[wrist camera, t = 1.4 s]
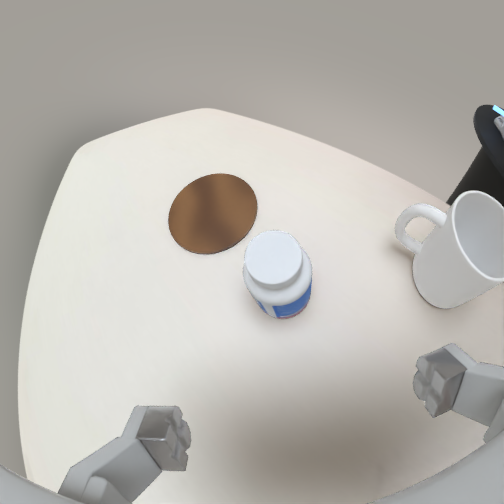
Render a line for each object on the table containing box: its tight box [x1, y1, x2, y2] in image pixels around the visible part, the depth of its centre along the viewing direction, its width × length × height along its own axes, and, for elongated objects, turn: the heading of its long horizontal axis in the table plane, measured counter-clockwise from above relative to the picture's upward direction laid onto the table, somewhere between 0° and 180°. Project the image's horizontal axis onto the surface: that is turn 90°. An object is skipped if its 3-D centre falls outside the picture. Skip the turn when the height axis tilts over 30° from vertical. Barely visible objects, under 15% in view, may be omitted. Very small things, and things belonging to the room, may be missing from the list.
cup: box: [395, 191, 504, 309], centre depth 21 cm, size 8×12×10 cm
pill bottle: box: [243, 230, 312, 319], centre depth 23 cm, size 6×5×10 cm
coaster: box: [168, 174, 257, 254], centre depth 33 cm, size 11×11×1 cm
